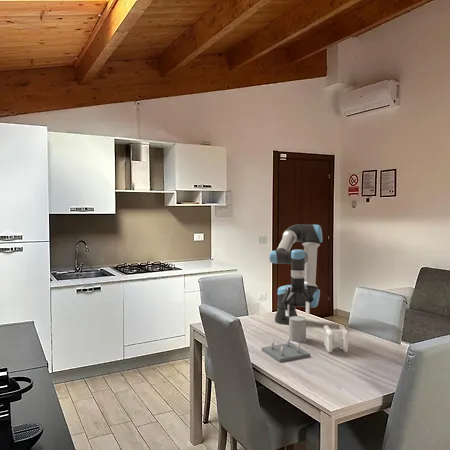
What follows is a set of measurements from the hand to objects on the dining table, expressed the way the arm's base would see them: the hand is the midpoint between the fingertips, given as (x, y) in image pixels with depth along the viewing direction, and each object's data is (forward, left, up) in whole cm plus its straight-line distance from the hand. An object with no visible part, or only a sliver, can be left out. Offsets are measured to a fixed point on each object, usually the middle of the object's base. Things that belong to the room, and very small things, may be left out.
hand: (297, 314), depth 244 cm
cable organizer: (+22, +9, -15) cm, 28 cm away
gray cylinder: (0, 0, -15) cm, 15 cm away
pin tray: (+16, -18, -14) cm, 28 cm away
